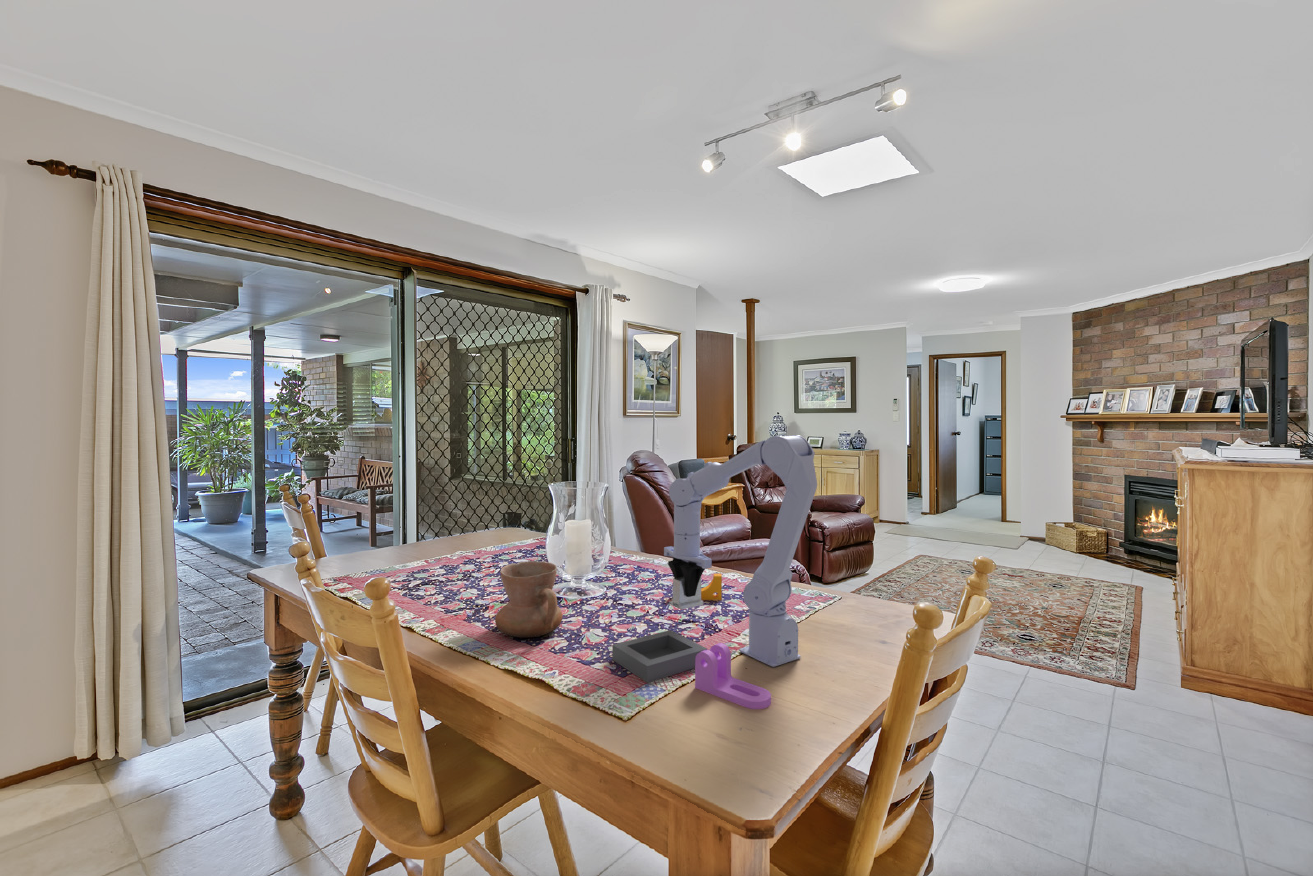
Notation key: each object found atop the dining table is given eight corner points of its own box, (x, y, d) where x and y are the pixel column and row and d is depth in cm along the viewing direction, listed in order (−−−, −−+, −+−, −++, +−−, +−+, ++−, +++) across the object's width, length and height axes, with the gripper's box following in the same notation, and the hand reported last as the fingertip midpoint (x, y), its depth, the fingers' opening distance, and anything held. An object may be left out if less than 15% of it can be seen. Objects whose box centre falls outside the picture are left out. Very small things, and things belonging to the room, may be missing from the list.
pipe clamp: (675, 602, 152) (675, 577, 152) (675, 597, 156) (675, 573, 156) (722, 603, 152) (722, 578, 151) (720, 598, 156) (721, 573, 156)
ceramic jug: (481, 628, 132) (480, 565, 131) (538, 613, 142) (538, 554, 141) (521, 654, 119) (520, 584, 118) (581, 636, 128) (581, 571, 127)
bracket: (695, 688, 104) (695, 649, 103) (713, 678, 108) (713, 640, 108) (759, 713, 95) (760, 671, 95) (777, 701, 99) (777, 660, 99)
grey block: (703, 604, 131) (703, 577, 130) (681, 609, 127) (681, 581, 127) (692, 600, 134) (692, 573, 134) (670, 604, 130) (670, 577, 130)
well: (707, 664, 114) (707, 648, 113) (647, 682, 106) (647, 666, 105) (670, 644, 123) (670, 630, 123) (612, 659, 115) (612, 644, 115)
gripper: (722, 536, 126) (722, 599, 127) (681, 525, 138) (681, 583, 138) (696, 540, 122) (696, 605, 123) (656, 529, 134) (656, 588, 134)
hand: (686, 594), depth 130 cm, fingers closed on grey block, 2 cm apart
